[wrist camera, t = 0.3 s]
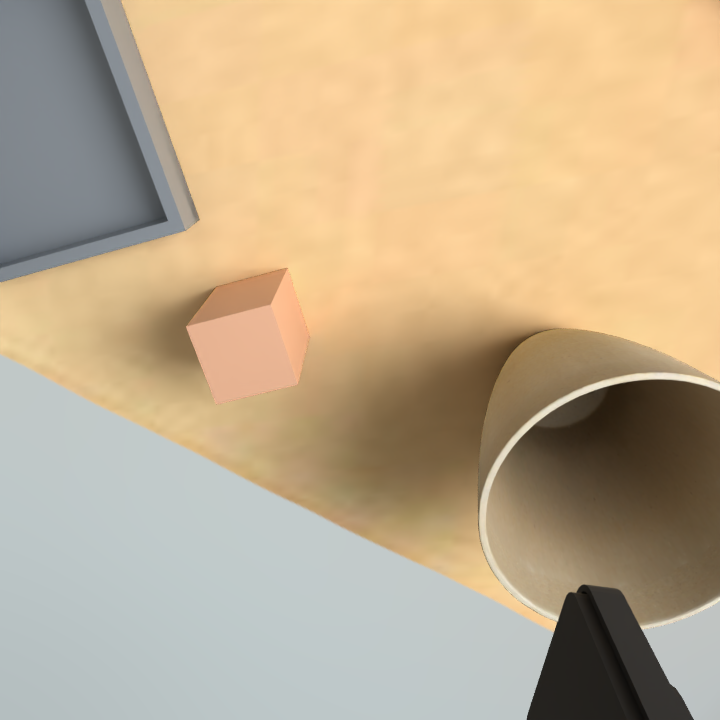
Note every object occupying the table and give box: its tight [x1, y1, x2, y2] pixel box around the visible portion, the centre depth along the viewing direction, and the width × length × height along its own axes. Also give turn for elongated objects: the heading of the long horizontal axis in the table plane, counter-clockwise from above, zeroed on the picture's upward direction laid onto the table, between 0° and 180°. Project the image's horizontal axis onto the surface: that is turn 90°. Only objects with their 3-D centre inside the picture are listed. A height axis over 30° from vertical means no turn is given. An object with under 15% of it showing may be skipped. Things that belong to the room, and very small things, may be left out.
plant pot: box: [478, 329, 720, 629], centre depth 40 cm, size 15×15×16 cm
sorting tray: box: [0, 0, 200, 282], centre depth 40 cm, size 16×14×4 cm
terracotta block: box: [186, 268, 310, 405], centre depth 42 cm, size 5×5×8 cm
